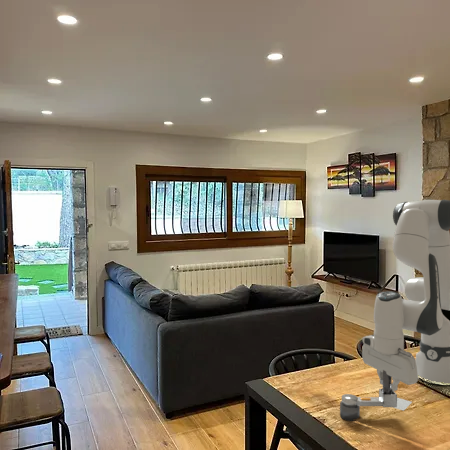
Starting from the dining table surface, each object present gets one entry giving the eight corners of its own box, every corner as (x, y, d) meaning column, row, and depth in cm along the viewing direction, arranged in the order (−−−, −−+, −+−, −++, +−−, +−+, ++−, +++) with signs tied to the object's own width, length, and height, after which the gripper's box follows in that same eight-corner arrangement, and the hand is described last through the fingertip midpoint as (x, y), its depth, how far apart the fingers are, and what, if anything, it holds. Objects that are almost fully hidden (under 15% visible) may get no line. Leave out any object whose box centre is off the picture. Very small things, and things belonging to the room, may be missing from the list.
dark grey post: (387, 396, 133) (388, 367, 132) (392, 401, 131) (393, 371, 129) (380, 398, 132) (381, 368, 131) (385, 402, 130) (386, 372, 129)
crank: (343, 407, 130) (343, 394, 130) (340, 399, 135) (340, 387, 135) (397, 407, 129) (397, 395, 129) (391, 400, 134) (391, 388, 134)
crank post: (345, 410, 137) (345, 398, 137) (362, 416, 133) (362, 403, 133) (336, 416, 132) (336, 404, 132) (354, 423, 128) (354, 410, 128)
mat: (388, 396, 146) (388, 395, 146) (412, 403, 141) (412, 401, 141) (379, 404, 140) (379, 403, 140) (403, 412, 135) (403, 410, 135)
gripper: (423, 353, 122) (422, 399, 122) (373, 333, 141) (373, 373, 141) (406, 356, 119) (406, 403, 120) (358, 336, 138) (359, 376, 139)
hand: (388, 387), depth 131 cm, fingers open, 3 cm apart
